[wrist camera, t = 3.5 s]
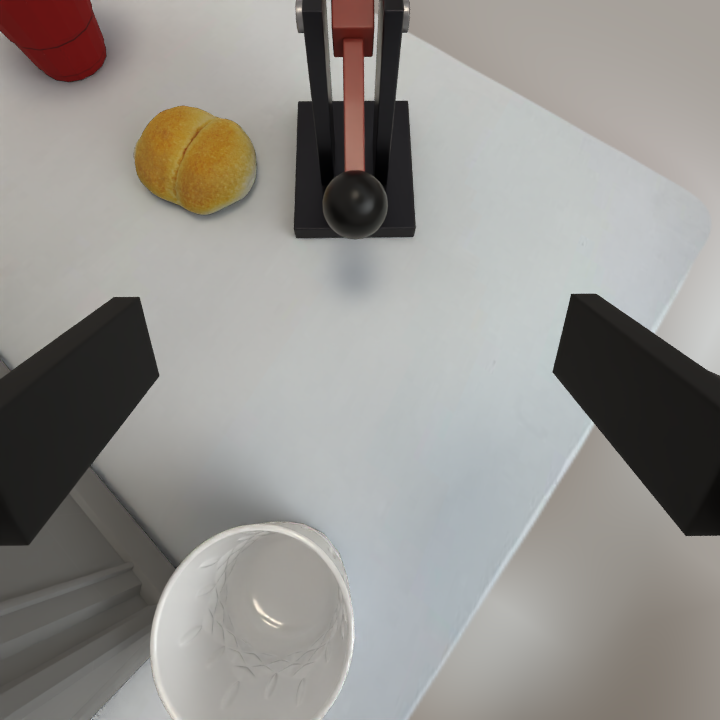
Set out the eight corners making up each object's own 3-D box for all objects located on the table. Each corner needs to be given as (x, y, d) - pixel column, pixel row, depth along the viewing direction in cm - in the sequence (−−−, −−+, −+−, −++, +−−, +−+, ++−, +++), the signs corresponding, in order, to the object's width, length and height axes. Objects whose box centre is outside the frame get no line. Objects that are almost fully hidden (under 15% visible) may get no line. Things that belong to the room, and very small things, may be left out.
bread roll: (229, 233, 33) (212, 199, 30) (130, 190, 34) (101, 152, 31) (279, 152, 36) (270, 111, 32) (185, 114, 36) (165, 70, 33)
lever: (385, 244, 26) (390, 230, 22) (325, 245, 26) (320, 231, 22) (383, 14, 25) (388, -40, 22) (321, 14, 25) (316, -40, 22)
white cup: (214, 532, 27) (137, 554, 18) (337, 497, 28) (327, 501, 18) (237, 674, 25) (163, 787, 15) (370, 633, 26) (377, 718, 16)
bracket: (413, 237, 33) (451, 70, 20) (296, 238, 33) (255, 71, 20) (406, 112, 37) (434, -100, 24) (299, 113, 37) (267, -100, 23)
